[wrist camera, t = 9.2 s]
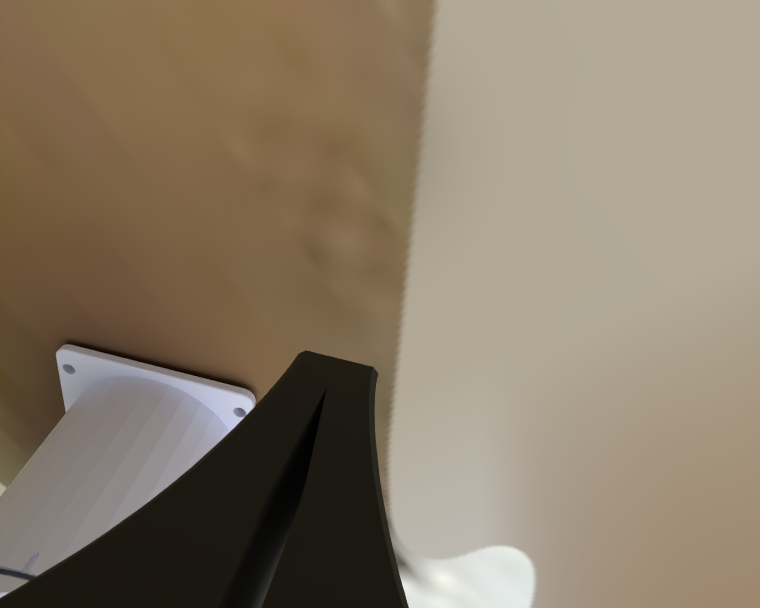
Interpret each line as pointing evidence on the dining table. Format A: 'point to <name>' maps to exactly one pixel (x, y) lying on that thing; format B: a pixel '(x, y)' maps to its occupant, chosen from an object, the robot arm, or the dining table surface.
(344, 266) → the dining table surface
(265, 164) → the dining table surface
